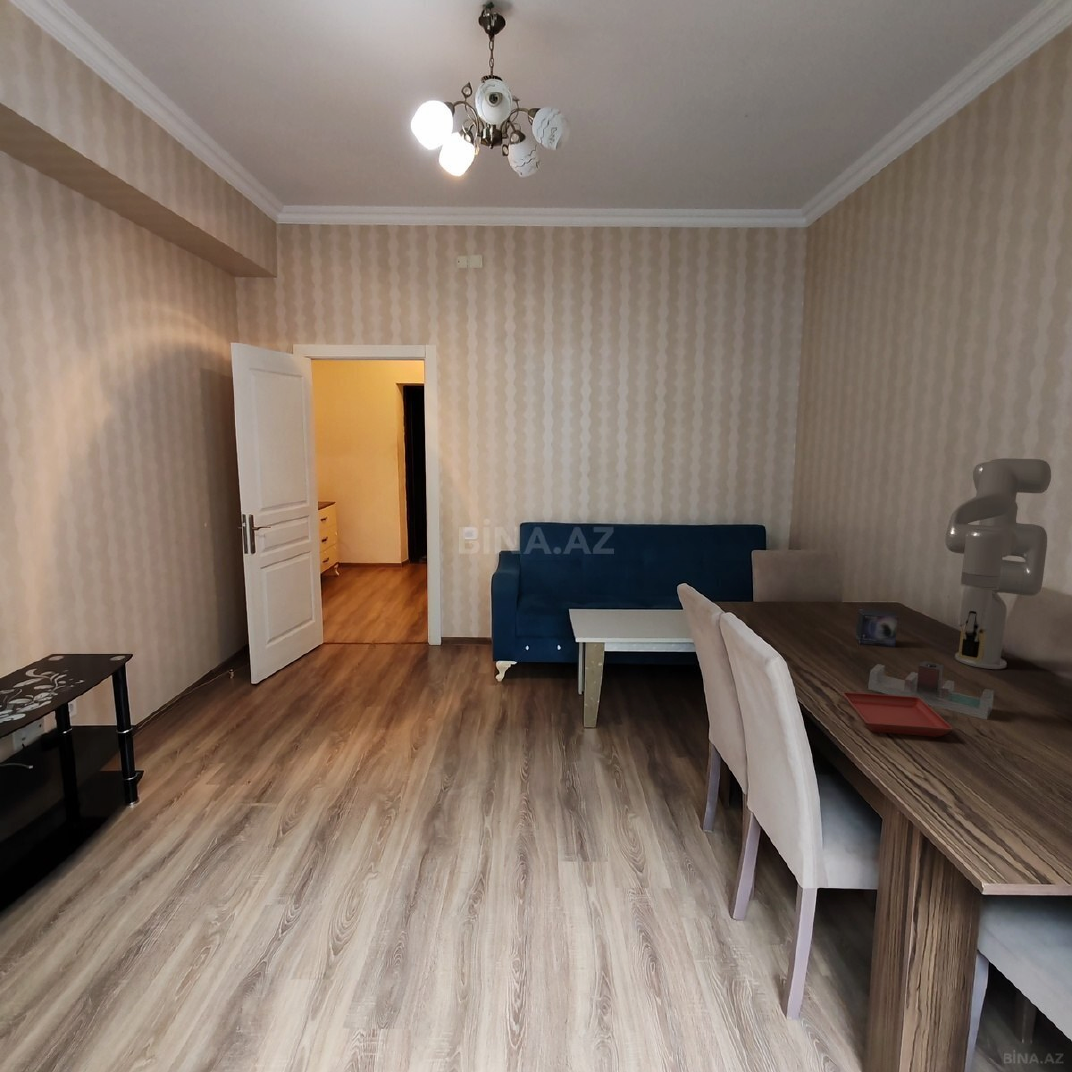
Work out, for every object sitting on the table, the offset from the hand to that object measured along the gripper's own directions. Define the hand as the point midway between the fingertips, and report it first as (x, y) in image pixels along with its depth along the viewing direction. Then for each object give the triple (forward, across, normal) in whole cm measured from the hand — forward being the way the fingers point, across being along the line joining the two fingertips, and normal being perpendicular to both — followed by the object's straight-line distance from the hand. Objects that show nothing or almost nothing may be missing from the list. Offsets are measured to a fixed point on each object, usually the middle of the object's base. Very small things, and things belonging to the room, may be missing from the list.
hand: (971, 652), depth 151 cm
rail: (+14, 0, -8) cm, 17 cm away
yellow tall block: (+1, 0, 0) cm, 1 cm away
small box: (+14, -39, -31) cm, 52 cm away
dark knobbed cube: (+12, 0, -8) cm, 15 cm away
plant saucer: (+15, +20, -11) cm, 27 cm away
